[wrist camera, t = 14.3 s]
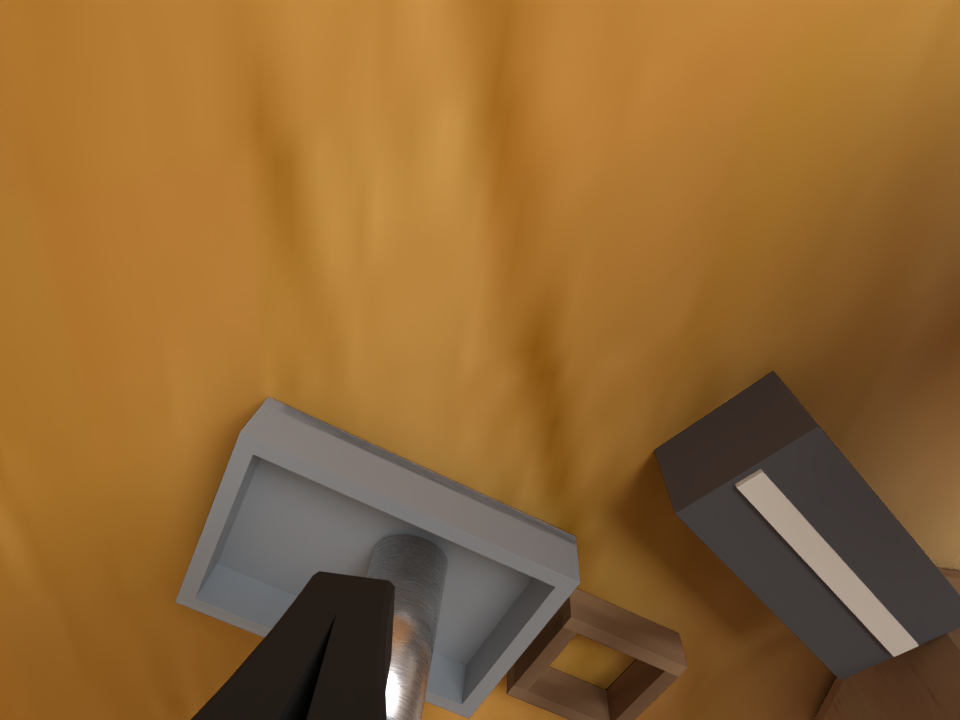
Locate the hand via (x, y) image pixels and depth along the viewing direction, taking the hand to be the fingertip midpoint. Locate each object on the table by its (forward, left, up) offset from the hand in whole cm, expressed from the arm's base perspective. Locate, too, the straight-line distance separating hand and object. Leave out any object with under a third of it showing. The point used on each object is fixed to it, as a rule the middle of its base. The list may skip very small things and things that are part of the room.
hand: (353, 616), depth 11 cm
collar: (-11, +8, -10) cm, 17 cm away
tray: (-2, +8, -10) cm, 13 cm away
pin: (-3, +7, -9) cm, 12 cm away
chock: (-13, -1, -10) cm, 16 cm away
